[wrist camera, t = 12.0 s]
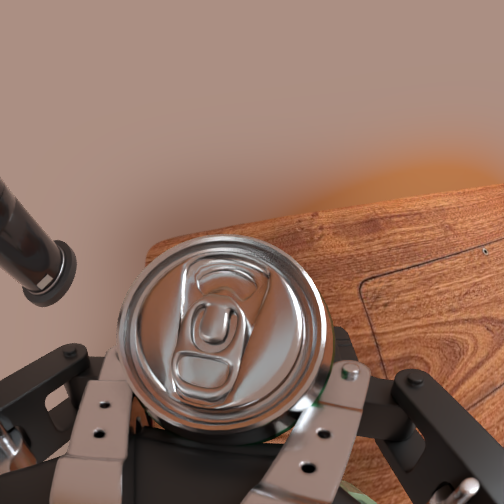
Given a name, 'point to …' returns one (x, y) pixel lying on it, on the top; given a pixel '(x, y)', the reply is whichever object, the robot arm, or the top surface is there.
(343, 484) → the can holder
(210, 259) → the soda can
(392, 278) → the top surface
